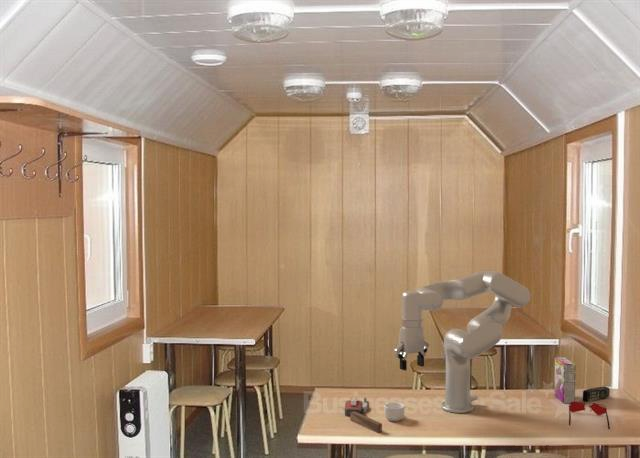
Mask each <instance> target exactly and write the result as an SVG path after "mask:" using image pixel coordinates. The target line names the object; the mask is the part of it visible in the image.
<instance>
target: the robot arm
mask: <svg viewBox="0 0 640 458" xmlns="http://www.w3.org/2000/svg"><path fill="white" fill-rule="evenodd" d="M486 293H491V294H494V299H493V303H492V304H491V306H489V307H488V308H486V309H485V310H484V311H482V312H481V313H479V314H478V315H476V316H474V317H473V318H471V319H470V321H468V323H467V327H466V330H467V331H466V330H463V329H461V328H451V329H450V330H448V331H447V332H446V333H445V336H444V337H443V347H444V348H443V349H444V353H445V354H444V355H445V399H444V400H445V401H443V402H442V403H441V404H440V406H441V409H442V410H444V411H446V412H449V413H455V414H466V413H467V414H468V413H471V412H472V411H474V407H475V406H474V404H472V403H473V402H474V401H477V400H478V395H471V360H472V359H473V360H474V359H475V358H477V357H479V356H480V355H483V353H486V352H487V351H489V350H490V349H491V348H493V347H494V346H496V345H497V344H498V343H499V342H501V339H502V338H503V335H504V327H503V325H504V324H506V323H507V321H508V320H509V319H510V316H511V314H512V308H513V307H512V306H514V307H517V308H521V307H526V306H527V305H528V304H529V302H530V301H531V293H530V290H529V289H528V288H527V287H526V286H525V285H523V284H521V283H519V282H518V281H516V280H514V279H512V278H511V277H509V276H507V275H506V274H504V273H502V272H499V271H493V270H481V271H478V272H475V273H472V274H470V275H467V276H463V277H460V278H456V279H450V280H444V281H439V282H434V283H430V284H428V285H425V286H423V287H420V288H419V289H417V290H416V291H415V290H407V291H404V292H402V295H401V302H402V303H401V307H402V308H401V315H402V316H401V317H402V318H401V323H402V324H401V327H400V328H399V333H398V344H397V345H398V346H397V347H395V349H394V353H395V355H396V357H397V359H398V360H399V369H400V370H402V371H407V363H408V362H407V357H408V355H411V354H415V353H417V356H416V359H417V360H416V361H417V363H416V364H417V366H419V367H425V356H426V354H427V352H428V349H429V346H430V344H429V343H428V342H426V341H425V333H424V327H423V322H424V320H423V312H422V311H432V312H433V311H439V310H440V309H441V308H442V307H443V305H444V301H446V300H453V301H454V300H455V301H463V300H468V299H471V298H474V297H477V296H479V295H482V294H486Z"/></svg>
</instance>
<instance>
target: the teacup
mask: <svg viewBox="0 0 640 458" xmlns="http://www.w3.org/2000/svg"><path fill="white" fill-rule="evenodd" d="M383 409H384V410H383V411H384V415H385V417H386V418H387V420H388V421H391V422H400V420H402V419H403V418H404V416H405V404H404V403H401V402H396V401H390V402H386V403H385V404H384V405H383Z"/></svg>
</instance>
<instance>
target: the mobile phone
mask: <svg viewBox="0 0 640 458" xmlns="http://www.w3.org/2000/svg"><path fill="white" fill-rule="evenodd" d="M609 397H610V388H609V387H608V386H597V387H593V388H592V387H591V388H587V389H584V390H583V391H582V402H585V403H592V402H596V401H600V400H601V401H602V400H605V399H608V398H609Z"/></svg>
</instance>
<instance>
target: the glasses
mask: <svg viewBox="0 0 640 458" xmlns="http://www.w3.org/2000/svg"><path fill="white" fill-rule="evenodd" d="M588 404H590V405H588V407H589V411H590V412H594V414H595V415H596V416H602V415H604V414H605V415H606V420H607V421H606V423H607V429H610V430H611V427H610V420H609V416H608V412H607V407H606V406H605V405H604V404H601V403H596V402H588ZM585 407H586V402H584V401H575V402H571V403H570V404H569V405H568V413H569V414H568V415H569V416H568V417H569V419H568V426H571V423H572V422H571V421H572V420H571V419H572V415H571V413H577V412H580V411H585V410H586V408H585Z"/></svg>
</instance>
